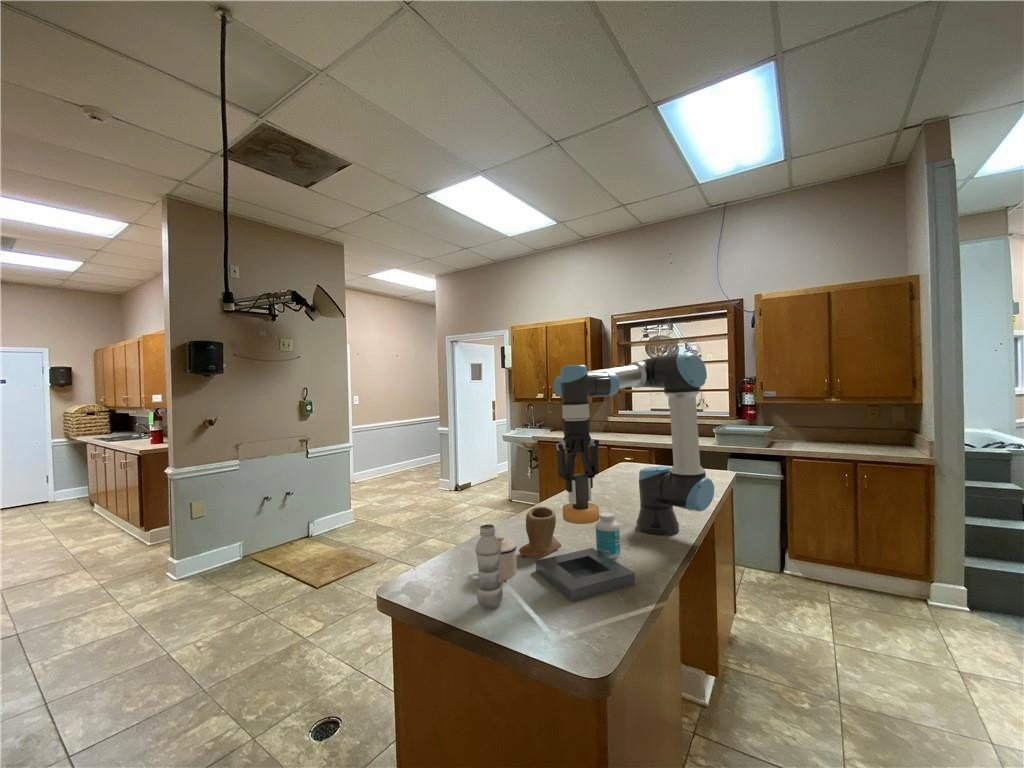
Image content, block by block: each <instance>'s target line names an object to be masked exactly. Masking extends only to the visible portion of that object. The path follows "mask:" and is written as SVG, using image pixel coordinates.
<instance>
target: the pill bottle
mask: <svg viewBox="0 0 1024 768" xmlns="http://www.w3.org/2000/svg"><path fill="white" fill-rule="evenodd" d="M615 517H616V516H615V514H614V513H612V512H601V513H599V520H598V521H596V522H595V541H596V550H597V551H599V552H600V553H602V554H604V555H605V556H607V557H609V558H611V559H612V560H614V559H617V558H620V557H621V539H620V538H621V534H620V524H619V523H618V521H616V520H615Z"/></svg>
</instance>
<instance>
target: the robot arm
mask: <svg viewBox="0 0 1024 768" xmlns="http://www.w3.org/2000/svg"><path fill="white" fill-rule="evenodd" d="M587 368H588V367H587V365H585V364H570V365H563V366H562V367H561V369H560V375H558V376H556V378H555V379H554V381H553V391H554V393H555V394H556V395H557V396H559V397H561V409H562V419H564V420H563V421H562V429H563V431H562V432H563V435H564V436H563V439H562V441H560V442H559V443H558V442H556V443H555V444H554V447H555V450H556V454H557V456H556V457H557V468H558V469H557V471H558V477H559V478H560V479H563V480H565V491H566V492H567V493H568V503H572V504H576V490H575V480H572V479H573V474H574V472H575V471H574V470H575V463H576V457H577V456H578V454H579V456H580V459H581V463H582V466H583V470H584V474H585V475H587V490H588V503H591V502H592V489H593V487H594V484H593V483H594V482H593V479H595V477H596V475H599V452H598V451H599V450H598V449H599V444H600V440H598V439H593V438H592V437H591V435H590V432H591V425H590V424H591V422H590V419H589V418H590V405H589V404H590V403H589V402H590V401H589V400H590V399H589V398H599V397H600V398H602V397H604V398H605V397H607V398H608V397H612V396H614V395H615V394H617V393H618V391H619V389H624V388H628V387H629V388H630V387H631V388H634V389H639V388H652V389H653V388H654V389H655V388H656V389H657V388H658V389H663V393H664V395H666V396H667V397H668V399H669V415H670V429H671V442H672V443H671V445H672V447H671V448H672V462H673V465H672V467H671V466H665V465H664V466H663V465H662V466H650V467H649V466H648V467H644V468H641V469H640V470H639V472H638V485H639V486H638V491H639V502H640V503H639V505H640V509H639V512H638V515H637V519H636V522H635V523H636V524H635V525H636V529H637V531H639V532H641V533H643V534H645V535H651V536H652V535H653V536H658V537H659V536H661V537H662V536H663V537H665V536H672V535H675V534H676V535H677V533H679V532H680V524H679V522H678V519H677V516H676V513H675V511H674V507H676V508H681V509H684V510H688V511H694V512H703V511H705V510H707V509H708V508H709V507H710V505H711V504H712V502H713V500H714V495H715V485H714V482H713V481H712V479H711V478H709V477H707V475H706V474H707V473H706V469H704V468H703V467H702V466H701V457H700V446H699V445H700V442H699V441H700V440H699V428H698V426H699V425H698V415H697V414H698V410H697V398H696V397H697V396H698V395H699V394H700V392H701V387H702V386H704V385H705V383H706V380H707V378H708V374H707V373H708V372H707V367H706V364H705V363H704V360H702V358H701V357H700V356H699V355H697V354H695V353H692V352H690V353H689V352H688V353H683V352H682V353H678V354H677V353H676V354H670V355H669V354H668V355H659V356H653V357H650V358H646V359H642V360H638V361H633V362H632V361H631V362H630V363H629V364H628V365H623V366H617V367H609V368H602V369H595V370H594V369H593V370H589V371H588V369H587ZM588 447H589V448H588ZM566 448H567V450H566ZM566 456H567V457H566Z"/></svg>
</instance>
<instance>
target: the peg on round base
mask: <svg viewBox="0 0 1024 768" xmlns="http://www.w3.org/2000/svg"><path fill="white" fill-rule="evenodd" d="M572 480H575V490H576V504H572V503H570V502H568V503H566V504H564V505H562V509H561V510H562V519H563V521H565V522H567V523H570V524H576V525H577V524H578V525H587V524H592V523H597V522H598V521H599V520H600V507H599V505H598V504H596V503H592V502H589V501H588V490H587V475H585V473H575V474H574V473H573V479H572Z"/></svg>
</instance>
